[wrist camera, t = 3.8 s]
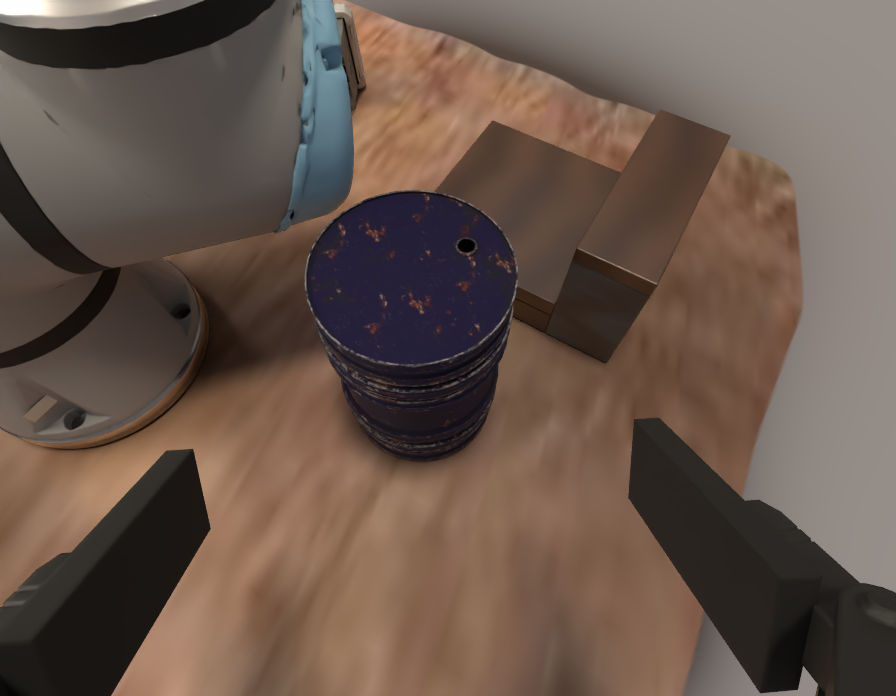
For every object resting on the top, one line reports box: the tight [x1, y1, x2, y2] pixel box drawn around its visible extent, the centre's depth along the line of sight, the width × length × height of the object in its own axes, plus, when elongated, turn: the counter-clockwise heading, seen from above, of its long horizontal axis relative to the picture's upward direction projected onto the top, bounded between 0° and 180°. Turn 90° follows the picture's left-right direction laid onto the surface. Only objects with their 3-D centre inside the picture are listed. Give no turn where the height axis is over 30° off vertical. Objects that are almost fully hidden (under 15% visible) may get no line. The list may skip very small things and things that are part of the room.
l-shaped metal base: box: [435, 110, 730, 363], centre depth 38 cm, size 18×14×10 cm
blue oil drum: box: [305, 190, 518, 461], centre depth 30 cm, size 10×10×15 cm
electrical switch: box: [333, 4, 366, 109], centre depth 47 cm, size 9×5×9 cm, turn 91°
